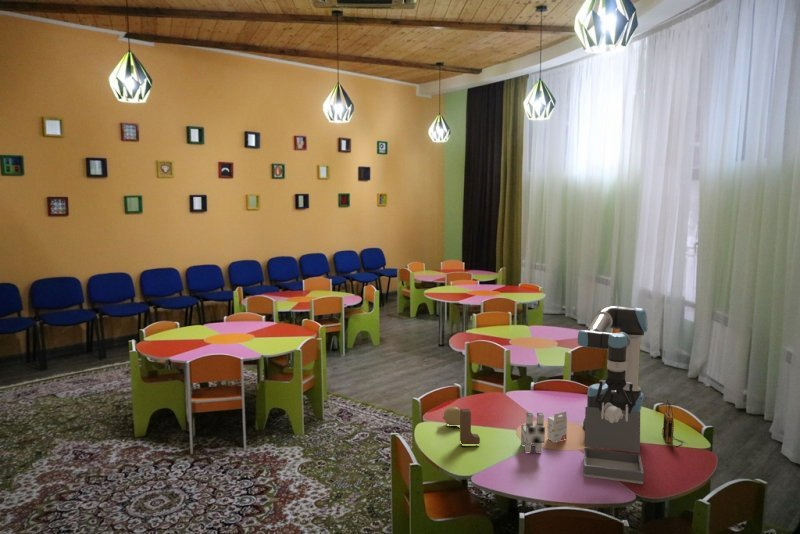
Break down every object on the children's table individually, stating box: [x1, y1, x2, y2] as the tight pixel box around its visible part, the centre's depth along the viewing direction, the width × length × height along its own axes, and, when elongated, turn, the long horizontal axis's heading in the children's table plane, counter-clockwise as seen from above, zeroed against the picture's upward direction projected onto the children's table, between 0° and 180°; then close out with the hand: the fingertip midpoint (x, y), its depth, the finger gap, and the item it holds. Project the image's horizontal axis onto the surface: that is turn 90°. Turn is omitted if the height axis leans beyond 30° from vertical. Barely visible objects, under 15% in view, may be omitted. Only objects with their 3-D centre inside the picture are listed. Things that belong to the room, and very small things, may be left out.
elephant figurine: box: [604, 402, 625, 423], centre depth 256 cm, size 8×10×7 cm
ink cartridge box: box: [547, 411, 568, 443], centre depth 291 cm, size 9×5×15 cm, turn 118°
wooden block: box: [459, 408, 481, 444], centre depth 286 cm, size 9×4×18 cm, turn 97°
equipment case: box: [583, 447, 645, 485], centre depth 259 cm, size 24×18×5 cm
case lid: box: [583, 406, 641, 454], centre depth 271 cm, size 24×18×2 cm
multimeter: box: [661, 399, 687, 448], centre depth 288 cm, size 15×10×20 cm
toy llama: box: [520, 412, 546, 453], centre depth 280 cm, size 8×18×20 cm, turn 1°
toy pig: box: [442, 405, 461, 425], centre depth 309 cm, size 10×12×11 cm
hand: (614, 418), depth 256 cm, fingers closed on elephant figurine, 9 cm apart
